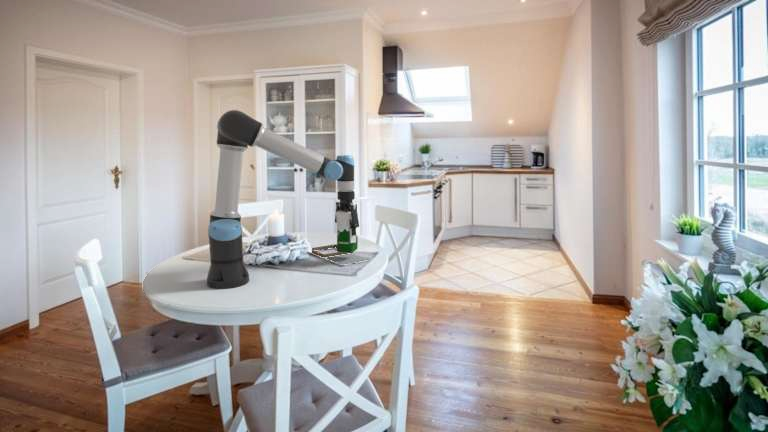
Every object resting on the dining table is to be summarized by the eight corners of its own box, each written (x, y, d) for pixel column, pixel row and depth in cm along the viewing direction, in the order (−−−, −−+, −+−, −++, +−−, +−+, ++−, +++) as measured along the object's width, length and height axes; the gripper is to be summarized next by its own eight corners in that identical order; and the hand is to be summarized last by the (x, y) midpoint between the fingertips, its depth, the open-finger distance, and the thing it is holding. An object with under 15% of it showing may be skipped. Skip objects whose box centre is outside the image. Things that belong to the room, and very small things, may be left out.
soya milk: (360, 248, 200) (359, 205, 197) (352, 253, 192) (352, 208, 189) (342, 247, 203) (341, 204, 200) (334, 252, 194) (333, 207, 191)
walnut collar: (353, 254, 211) (353, 249, 210) (323, 259, 201) (323, 254, 201) (335, 248, 223) (335, 244, 223) (307, 252, 214) (307, 248, 213)
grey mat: (368, 261, 197) (368, 259, 197) (342, 266, 188) (342, 264, 188) (351, 255, 208) (351, 253, 208) (325, 260, 199) (325, 257, 199)
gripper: (367, 191, 187) (367, 243, 190) (340, 188, 204) (341, 235, 208) (352, 193, 182) (353, 246, 186) (326, 189, 200) (327, 237, 203)
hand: (346, 240), depth 197 cm, fingers closed on soya milk, 9 cm apart
